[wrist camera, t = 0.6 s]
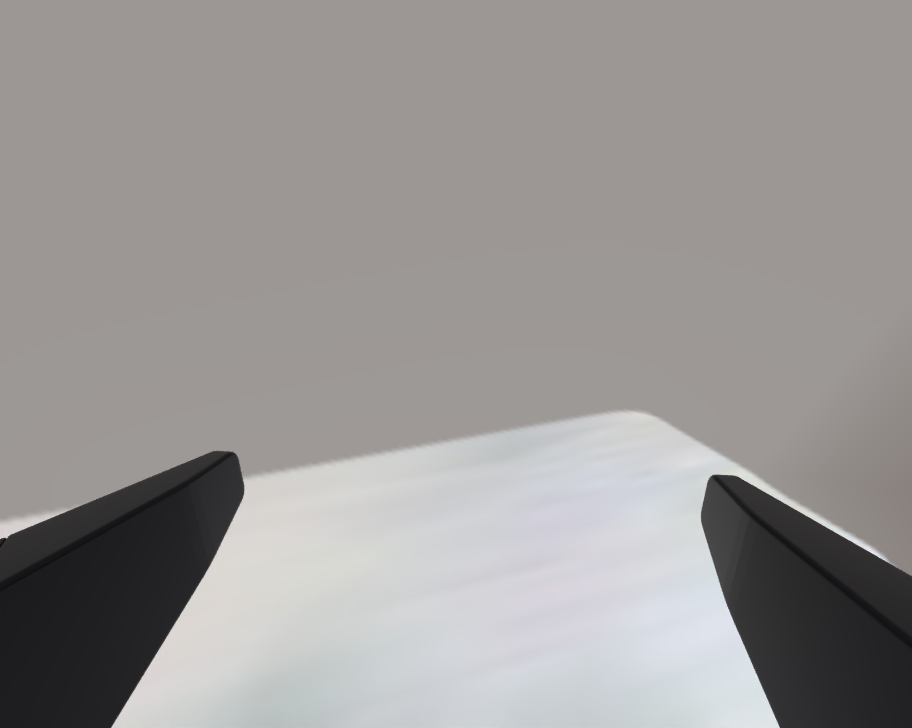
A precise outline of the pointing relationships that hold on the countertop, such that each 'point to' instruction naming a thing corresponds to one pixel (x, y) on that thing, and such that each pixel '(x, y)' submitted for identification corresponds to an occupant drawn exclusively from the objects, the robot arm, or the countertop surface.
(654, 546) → the countertop surface
